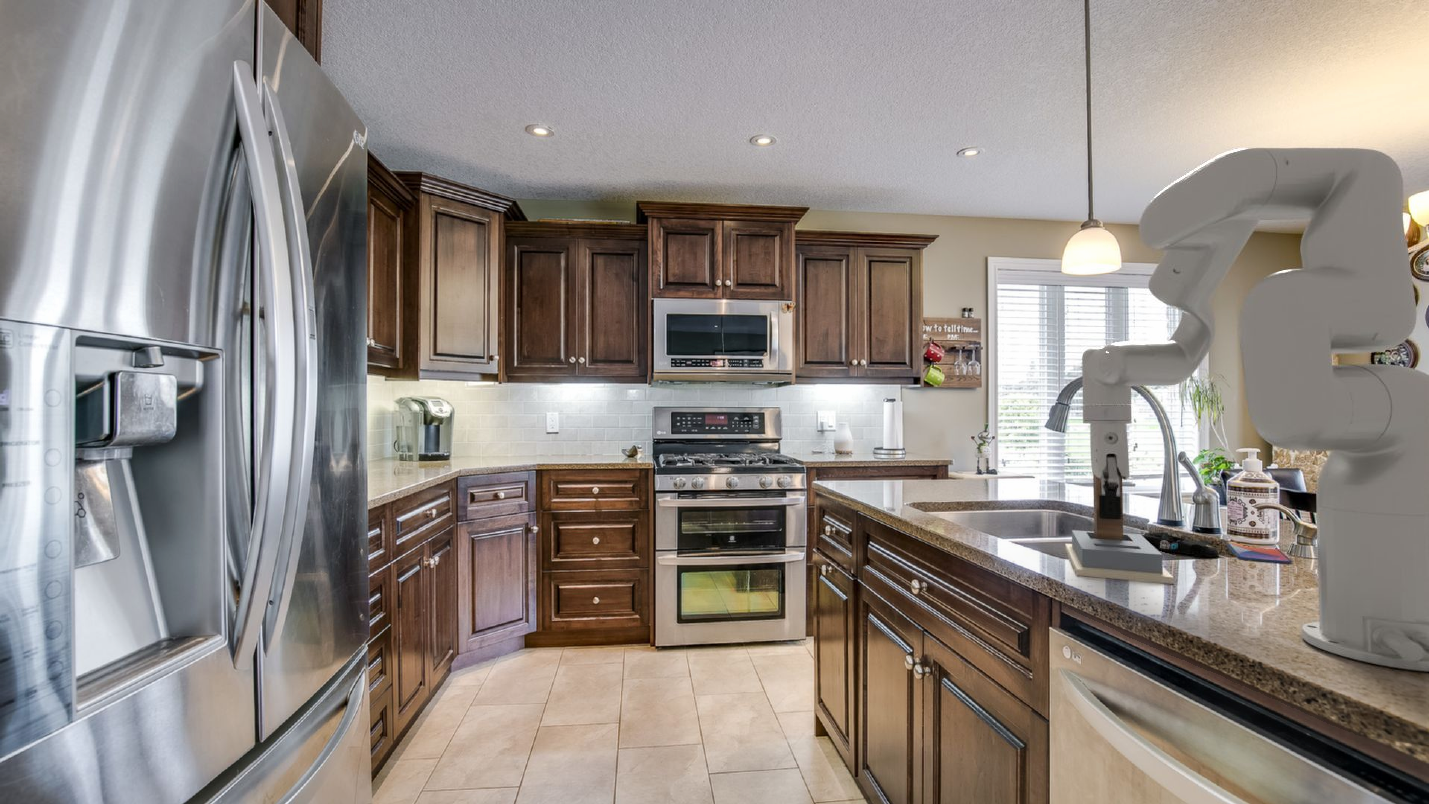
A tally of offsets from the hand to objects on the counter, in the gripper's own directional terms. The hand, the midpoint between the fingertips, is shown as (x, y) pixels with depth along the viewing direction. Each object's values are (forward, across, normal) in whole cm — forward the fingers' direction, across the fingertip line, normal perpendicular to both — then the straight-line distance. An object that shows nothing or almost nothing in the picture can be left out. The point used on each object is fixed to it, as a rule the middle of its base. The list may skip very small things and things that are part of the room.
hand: (1108, 515), depth 115 cm
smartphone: (+8, +15, -25) cm, 31 cm away
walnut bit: (+4, 0, 0) cm, 4 cm away
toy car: (+8, +12, -13) cm, 19 cm away
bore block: (+8, -5, 0) cm, 9 cm away
